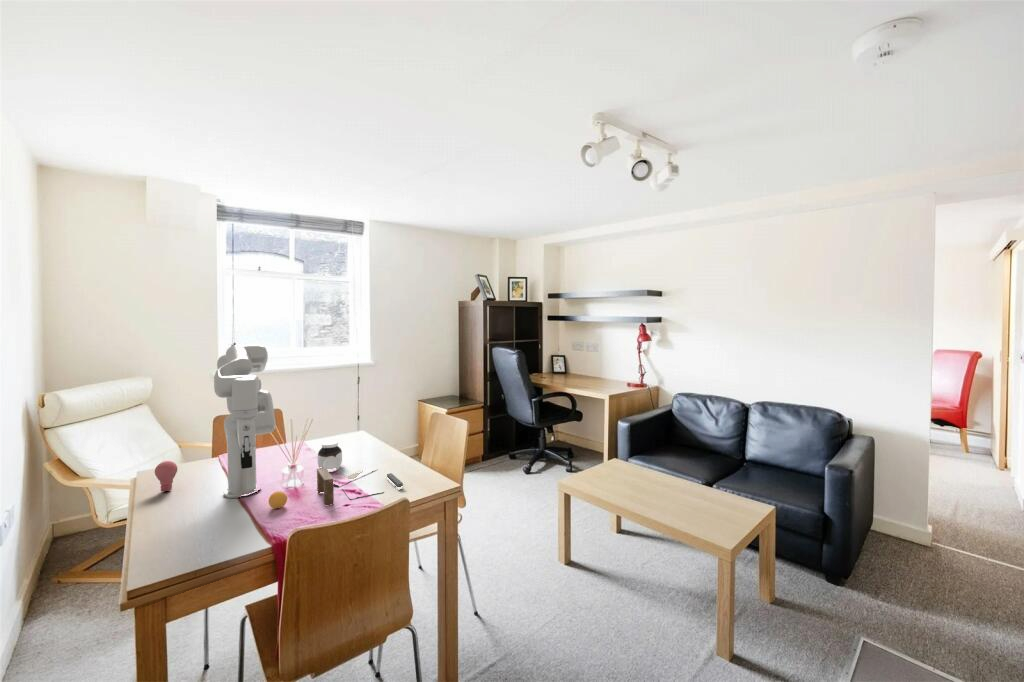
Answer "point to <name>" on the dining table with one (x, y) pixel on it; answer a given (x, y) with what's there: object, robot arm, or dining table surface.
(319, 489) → the bridge
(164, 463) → the light bulb
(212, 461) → the dining table surface
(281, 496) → the ball
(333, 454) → the spread jar
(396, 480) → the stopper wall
